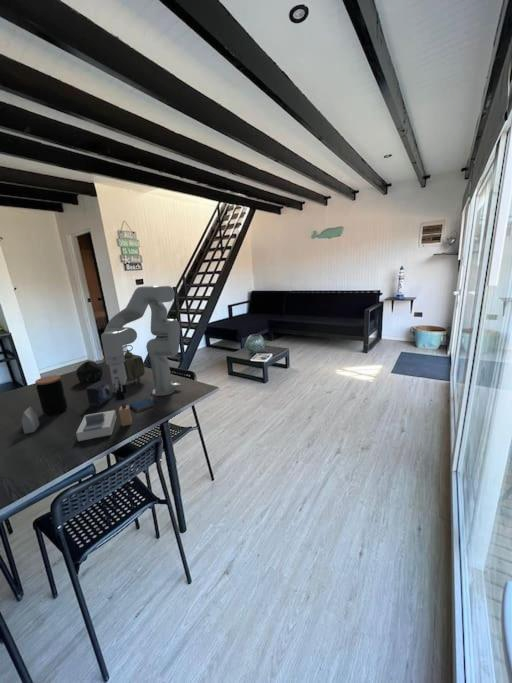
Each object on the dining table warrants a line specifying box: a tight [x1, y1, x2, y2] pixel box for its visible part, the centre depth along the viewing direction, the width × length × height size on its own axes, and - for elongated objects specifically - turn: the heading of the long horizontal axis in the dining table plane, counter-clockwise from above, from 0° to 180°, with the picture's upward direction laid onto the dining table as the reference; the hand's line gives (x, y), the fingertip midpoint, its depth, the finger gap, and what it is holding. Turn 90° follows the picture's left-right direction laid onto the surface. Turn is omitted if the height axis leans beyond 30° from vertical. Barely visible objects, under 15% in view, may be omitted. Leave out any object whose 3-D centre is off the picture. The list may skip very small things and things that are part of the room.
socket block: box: [75, 409, 117, 442], centre depth 132 cm, size 13×16×4 cm
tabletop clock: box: [123, 344, 146, 385], centre depth 180 cm, size 14×9×25 cm, turn 144°
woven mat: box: [128, 397, 156, 413], centre depth 153 cm, size 10×11×2 cm
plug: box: [118, 402, 133, 427], centre depth 135 cm, size 4×4×10 cm
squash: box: [75, 360, 104, 384], centre depth 189 cm, size 14×15×15 cm
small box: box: [85, 380, 113, 408], centre depth 158 cm, size 11×6×10 cm, turn 168°
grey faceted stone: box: [21, 406, 41, 435], centre depth 134 cm, size 4×7×10 cm, turn 18°
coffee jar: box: [34, 374, 68, 417], centre depth 149 cm, size 11×11×18 cm
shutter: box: [83, 412, 105, 432], centre depth 127 cm, size 7×7×4 cm
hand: (122, 396), depth 133 cm, fingers open, 7 cm apart
